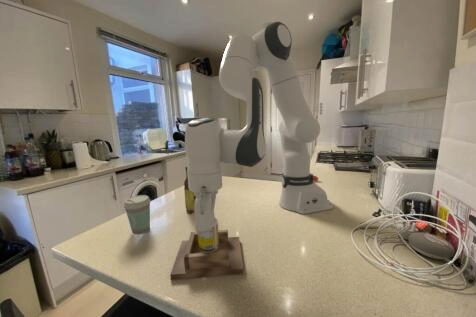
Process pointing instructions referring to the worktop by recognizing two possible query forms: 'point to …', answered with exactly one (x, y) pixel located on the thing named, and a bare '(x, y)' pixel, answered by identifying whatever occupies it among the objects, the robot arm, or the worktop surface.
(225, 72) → the robot arm
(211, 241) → the supplement bottle
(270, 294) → the worktop surface
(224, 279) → the worktop surface
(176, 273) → the slot holder
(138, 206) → the coffee cup
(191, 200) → the sauce bottle
